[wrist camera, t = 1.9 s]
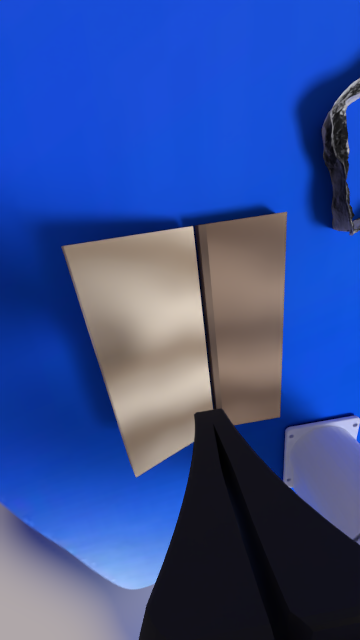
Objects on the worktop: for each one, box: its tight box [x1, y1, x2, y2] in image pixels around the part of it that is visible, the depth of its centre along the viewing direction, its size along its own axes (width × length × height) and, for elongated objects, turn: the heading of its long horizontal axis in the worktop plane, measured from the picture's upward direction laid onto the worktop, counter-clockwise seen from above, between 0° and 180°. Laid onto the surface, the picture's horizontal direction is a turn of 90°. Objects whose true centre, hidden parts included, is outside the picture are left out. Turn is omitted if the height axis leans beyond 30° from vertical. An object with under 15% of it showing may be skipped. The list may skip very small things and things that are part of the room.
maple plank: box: [61, 226, 213, 477], centre depth 18 cm, size 18×8×2 cm, turn 8°
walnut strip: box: [195, 212, 287, 425], centre depth 19 cm, size 18×6×2 cm, turn 8°
